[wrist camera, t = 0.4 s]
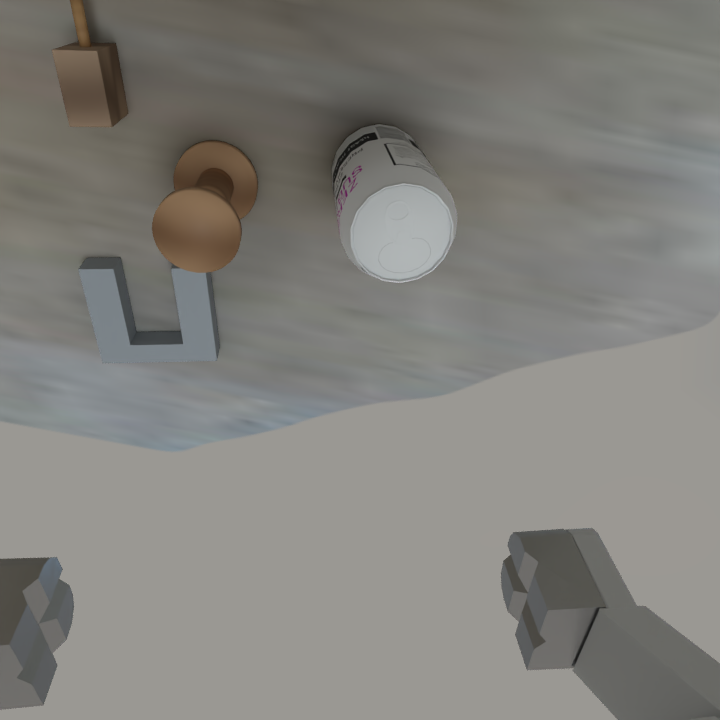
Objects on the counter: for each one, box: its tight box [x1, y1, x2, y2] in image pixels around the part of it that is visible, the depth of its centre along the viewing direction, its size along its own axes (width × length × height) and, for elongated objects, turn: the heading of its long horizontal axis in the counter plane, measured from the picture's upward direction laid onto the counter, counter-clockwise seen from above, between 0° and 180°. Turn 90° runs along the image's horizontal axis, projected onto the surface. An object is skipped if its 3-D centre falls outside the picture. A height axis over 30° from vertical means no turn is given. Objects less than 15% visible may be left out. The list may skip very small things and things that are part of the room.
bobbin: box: [152, 140, 258, 273], centre depth 46 cm, size 7×7×12 cm
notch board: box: [78, 258, 220, 363], centre depth 56 cm, size 10×11×2 cm
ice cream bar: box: [52, 0, 128, 127], centre depth 43 cm, size 8×3×5 cm, turn 178°
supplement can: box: [331, 124, 458, 283], centre depth 45 cm, size 8×8×15 cm
